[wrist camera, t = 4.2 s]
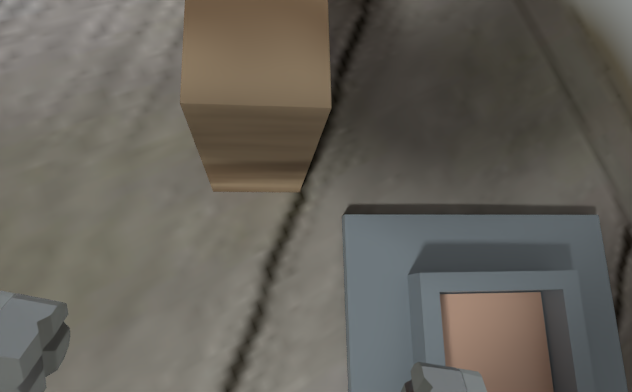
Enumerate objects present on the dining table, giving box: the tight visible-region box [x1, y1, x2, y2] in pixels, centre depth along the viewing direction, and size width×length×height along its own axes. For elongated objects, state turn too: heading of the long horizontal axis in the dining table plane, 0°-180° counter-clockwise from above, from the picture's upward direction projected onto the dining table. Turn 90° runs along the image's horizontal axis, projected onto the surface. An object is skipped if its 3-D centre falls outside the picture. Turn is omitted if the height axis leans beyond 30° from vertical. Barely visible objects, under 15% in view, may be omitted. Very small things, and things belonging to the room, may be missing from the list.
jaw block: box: [180, 0, 331, 192], centre depth 22 cm, size 5×5×12 cm
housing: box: [342, 214, 628, 392], centre depth 25 cm, size 16×16×3 cm
